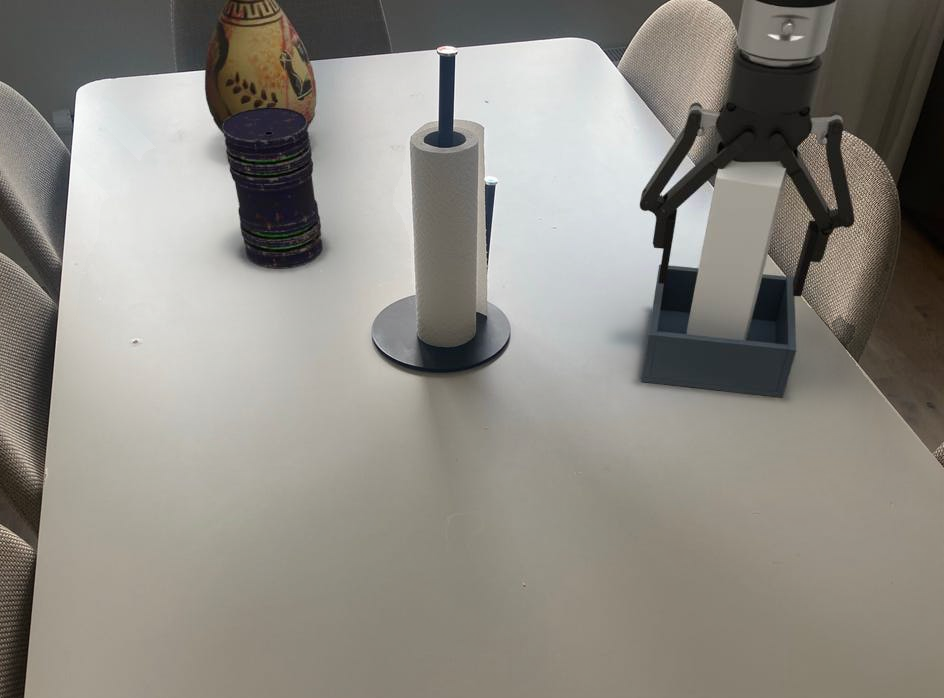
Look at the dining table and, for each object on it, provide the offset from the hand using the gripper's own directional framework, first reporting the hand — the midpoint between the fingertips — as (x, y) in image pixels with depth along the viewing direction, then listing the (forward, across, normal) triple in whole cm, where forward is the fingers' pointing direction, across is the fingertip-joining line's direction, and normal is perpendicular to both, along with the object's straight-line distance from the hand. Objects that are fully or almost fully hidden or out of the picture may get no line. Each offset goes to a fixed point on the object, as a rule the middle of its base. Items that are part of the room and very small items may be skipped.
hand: (729, 283), depth 97 cm
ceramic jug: (+8, -66, +42) cm, 79 cm away
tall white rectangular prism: (+8, 0, 0) cm, 8 cm away
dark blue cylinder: (+8, -54, +13) cm, 56 cm away
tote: (+8, 0, 0) cm, 8 cm away
